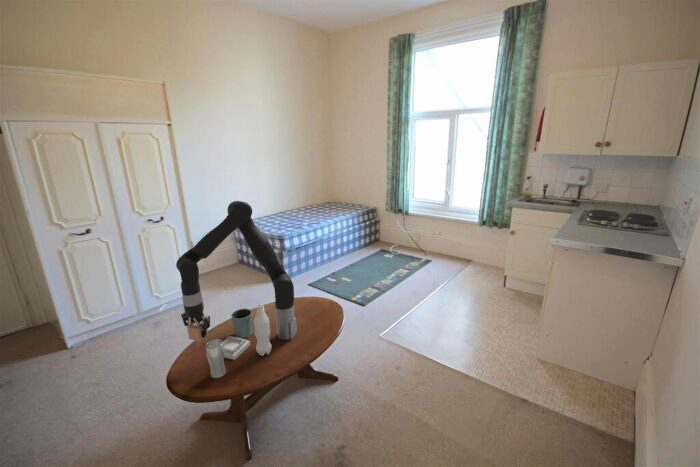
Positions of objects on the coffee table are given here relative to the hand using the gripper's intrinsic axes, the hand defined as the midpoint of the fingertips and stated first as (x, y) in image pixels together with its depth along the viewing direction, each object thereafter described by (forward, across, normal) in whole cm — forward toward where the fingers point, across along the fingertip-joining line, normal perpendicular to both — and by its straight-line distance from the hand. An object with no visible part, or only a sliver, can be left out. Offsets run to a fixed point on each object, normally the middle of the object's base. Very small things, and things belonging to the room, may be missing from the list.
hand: (198, 335), depth 141 cm
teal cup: (+15, -4, -25) cm, 29 cm away
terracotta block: (+1, 0, 0) cm, 1 cm away
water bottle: (+15, -23, -15) cm, 31 cm away
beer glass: (+14, -12, +4) cm, 19 cm away
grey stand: (+14, -7, -12) cm, 20 cm away
